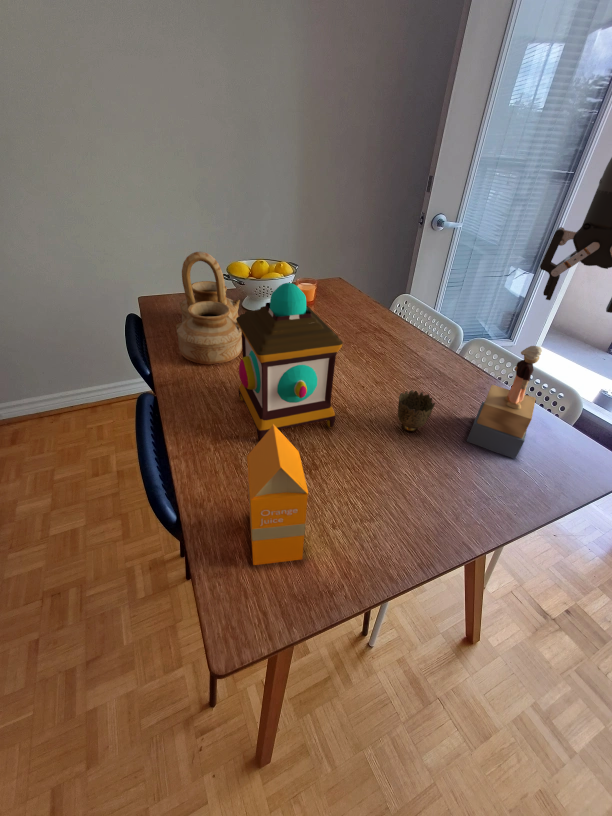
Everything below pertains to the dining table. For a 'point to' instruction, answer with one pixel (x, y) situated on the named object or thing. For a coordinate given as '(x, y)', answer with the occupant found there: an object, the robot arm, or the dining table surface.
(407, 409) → the cup
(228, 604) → the dining table surface
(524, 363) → the grandmother figurine
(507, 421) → the top block
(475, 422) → the base block
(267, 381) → the decorative lantern
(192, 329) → the ceramic vessel
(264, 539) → the orange juice
